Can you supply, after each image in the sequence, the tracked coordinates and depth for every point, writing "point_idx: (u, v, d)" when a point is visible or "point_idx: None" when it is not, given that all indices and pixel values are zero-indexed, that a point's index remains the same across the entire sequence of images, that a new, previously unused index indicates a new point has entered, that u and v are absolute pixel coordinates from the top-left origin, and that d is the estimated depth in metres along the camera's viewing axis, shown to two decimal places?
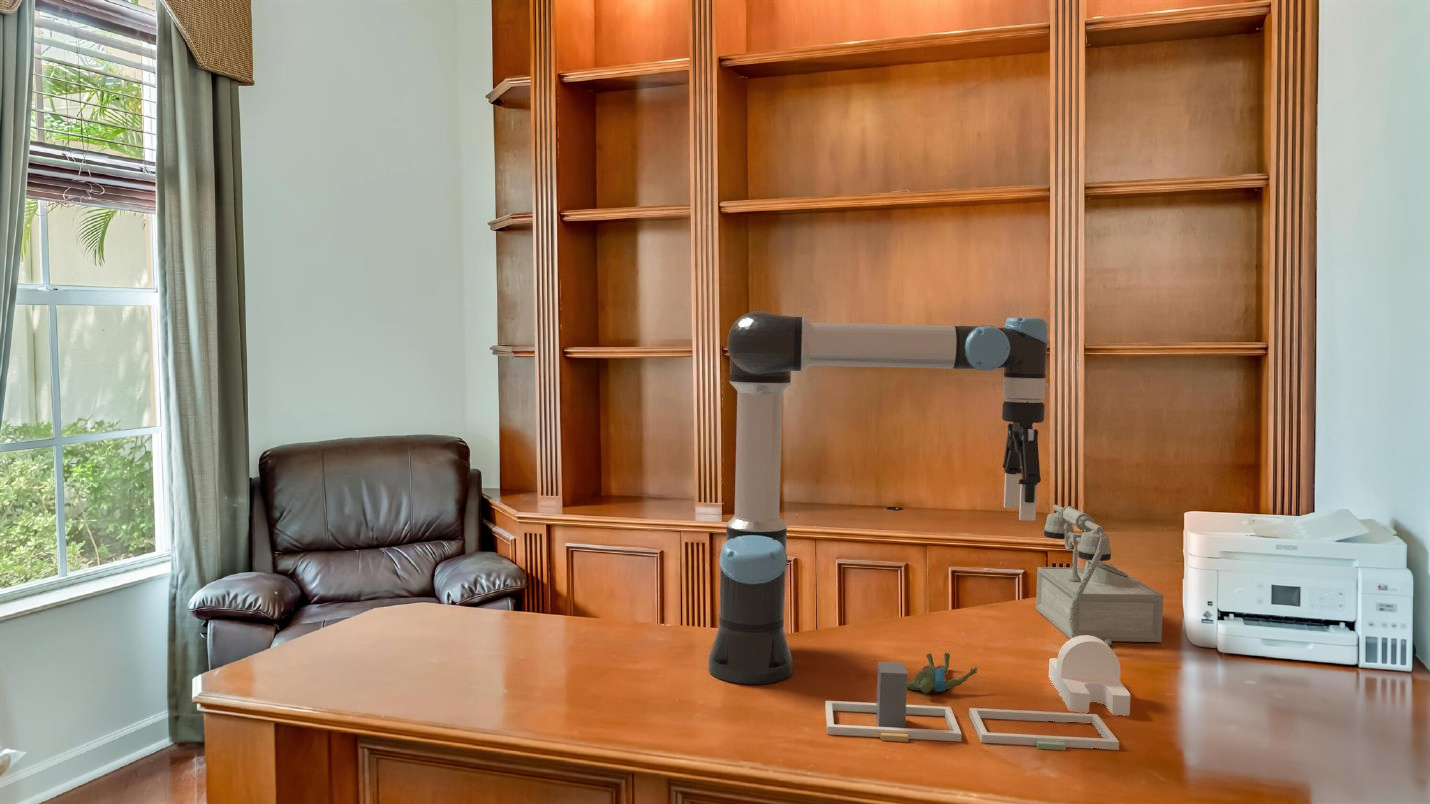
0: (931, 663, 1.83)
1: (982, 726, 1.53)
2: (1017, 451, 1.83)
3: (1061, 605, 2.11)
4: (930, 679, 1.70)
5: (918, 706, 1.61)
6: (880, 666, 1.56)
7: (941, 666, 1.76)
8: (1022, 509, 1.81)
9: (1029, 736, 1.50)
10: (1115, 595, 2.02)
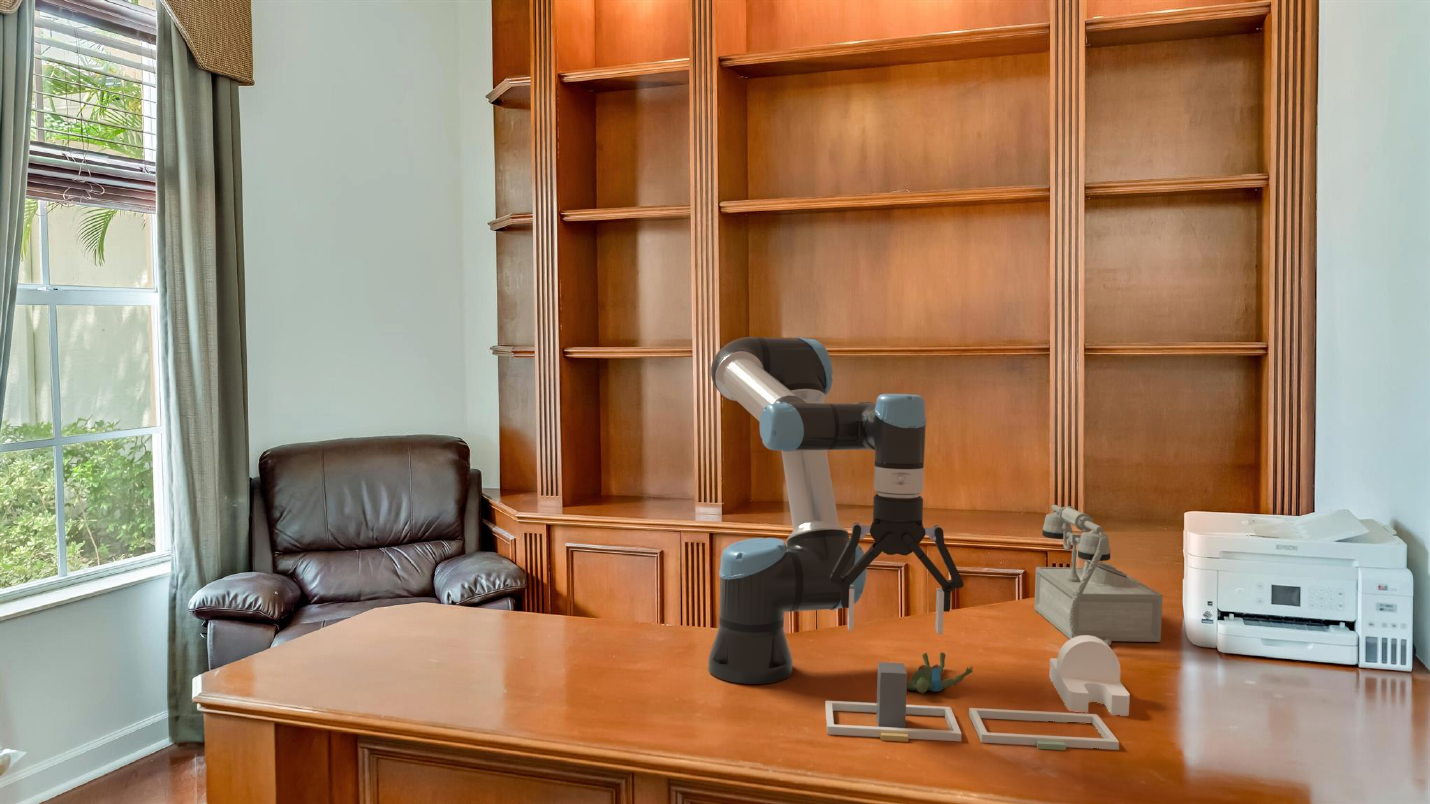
0: (927, 663, 1.84)
1: (982, 726, 1.53)
2: None
3: (1060, 605, 2.11)
4: (926, 679, 1.70)
5: (918, 706, 1.61)
6: (880, 666, 1.56)
7: (937, 666, 1.77)
8: None
9: (1029, 736, 1.50)
10: (1114, 595, 2.02)
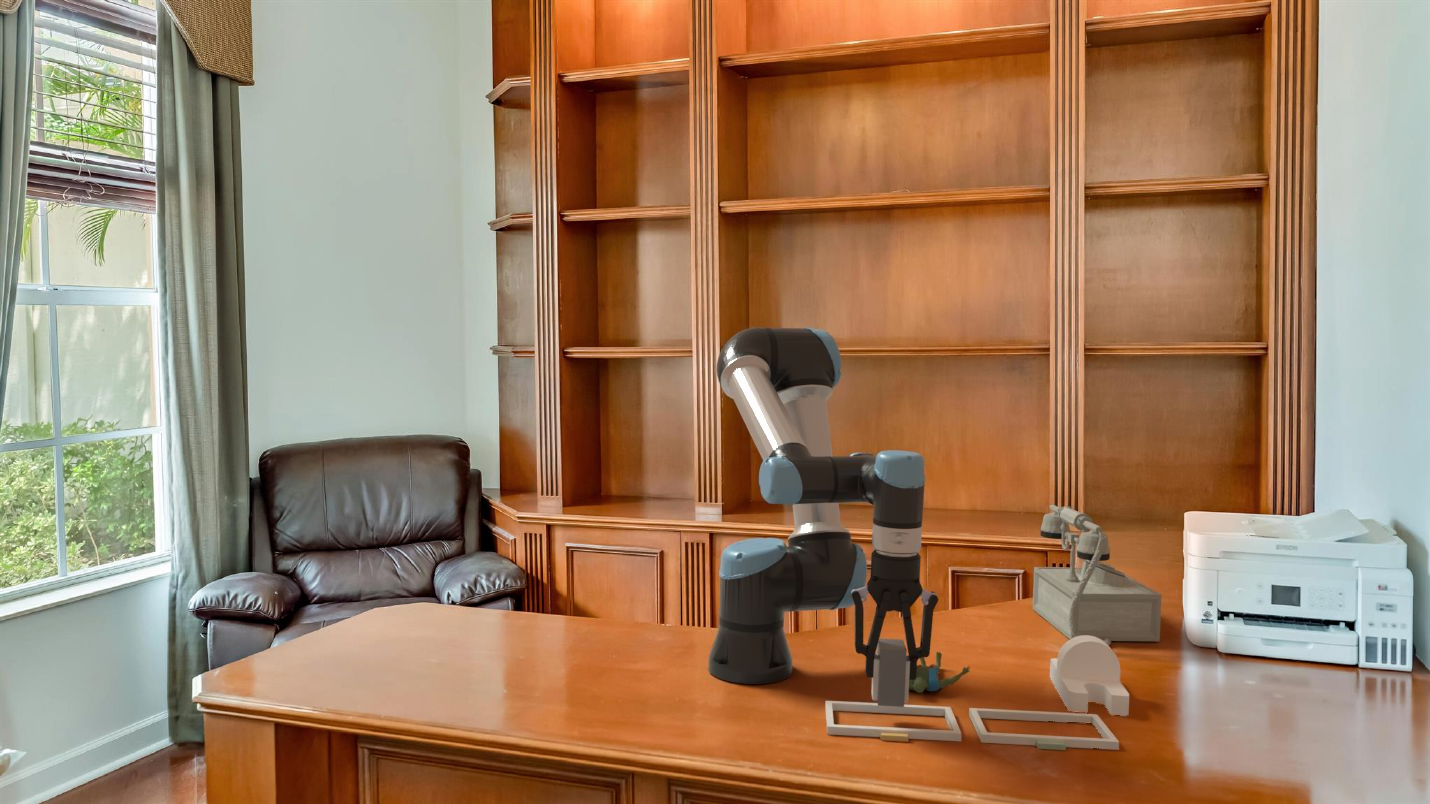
0: (923, 662, 1.84)
1: (982, 726, 1.53)
2: None
3: (1059, 605, 2.11)
4: (923, 678, 1.70)
5: (918, 706, 1.61)
6: (880, 642, 1.57)
7: (933, 665, 1.77)
8: None
9: (1029, 736, 1.50)
10: (1114, 595, 2.02)
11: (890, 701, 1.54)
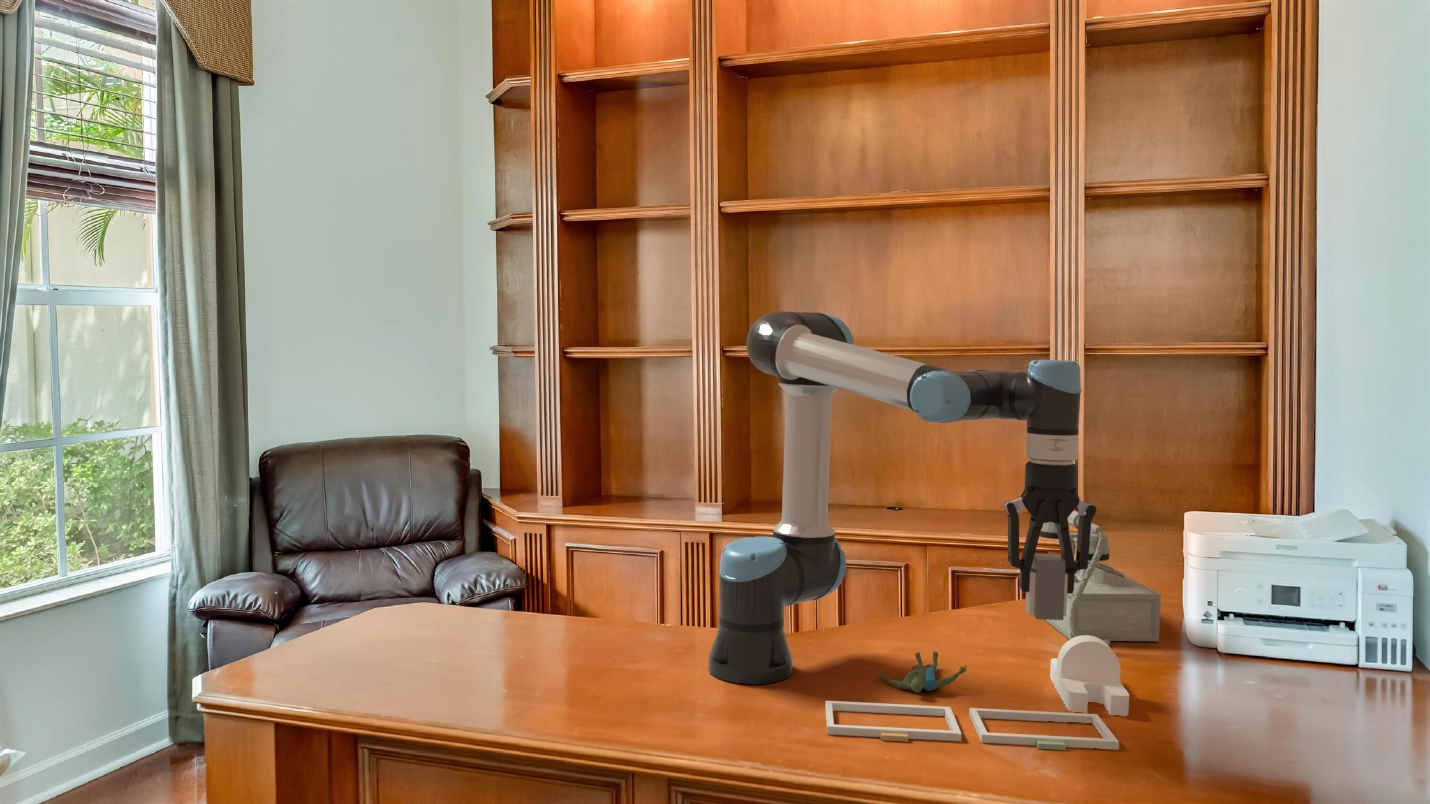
0: (920, 662, 1.84)
1: (982, 726, 1.53)
2: None
3: None
4: (921, 678, 1.70)
5: (918, 706, 1.61)
6: (1035, 556, 1.53)
7: (930, 665, 1.77)
8: (1026, 598, 1.54)
9: (1029, 736, 1.50)
10: (1113, 595, 2.02)
11: (1049, 614, 1.51)
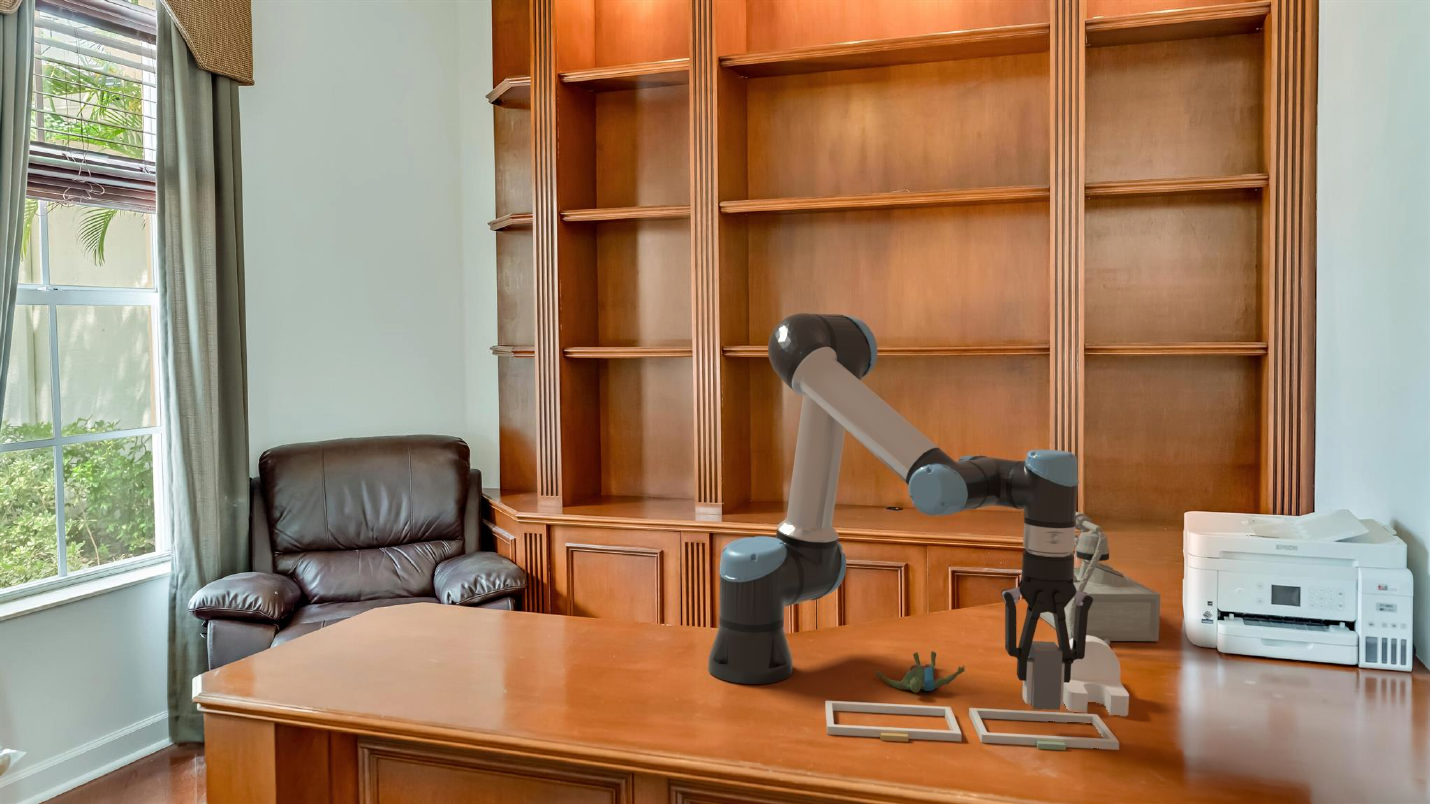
0: (918, 662, 1.84)
1: (982, 726, 1.53)
2: None
3: None
4: (919, 678, 1.70)
5: (918, 706, 1.61)
6: (1032, 644, 1.54)
7: (929, 665, 1.77)
8: (1023, 686, 1.55)
9: (1029, 736, 1.50)
10: (1113, 595, 2.02)
11: (1046, 704, 1.52)
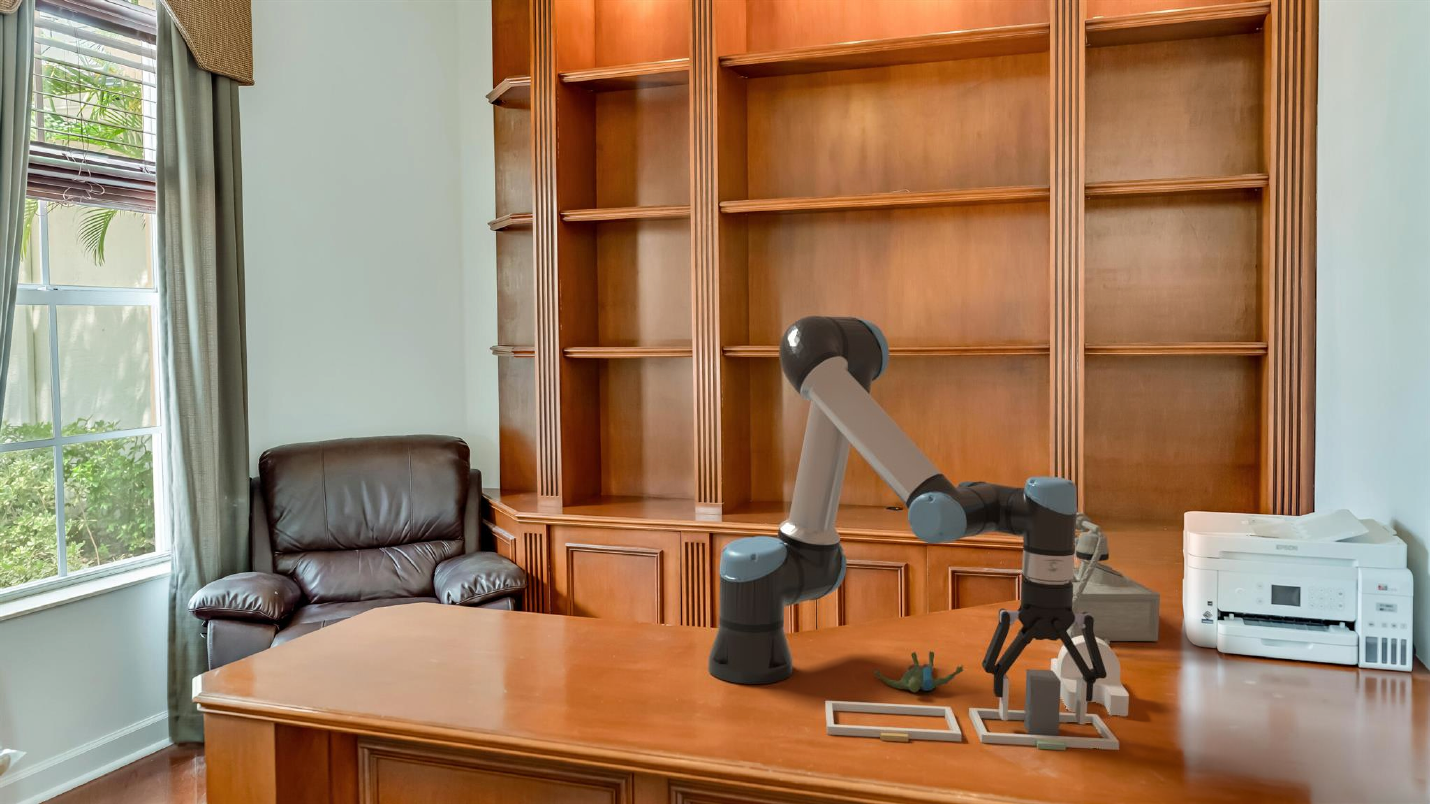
0: (916, 662, 1.84)
1: (982, 726, 1.53)
2: None
3: None
4: (918, 678, 1.70)
5: (918, 706, 1.61)
6: (1030, 673, 1.54)
7: (927, 665, 1.77)
8: (999, 702, 1.56)
9: (1029, 736, 1.50)
10: (1113, 595, 2.02)
11: (1044, 733, 1.52)
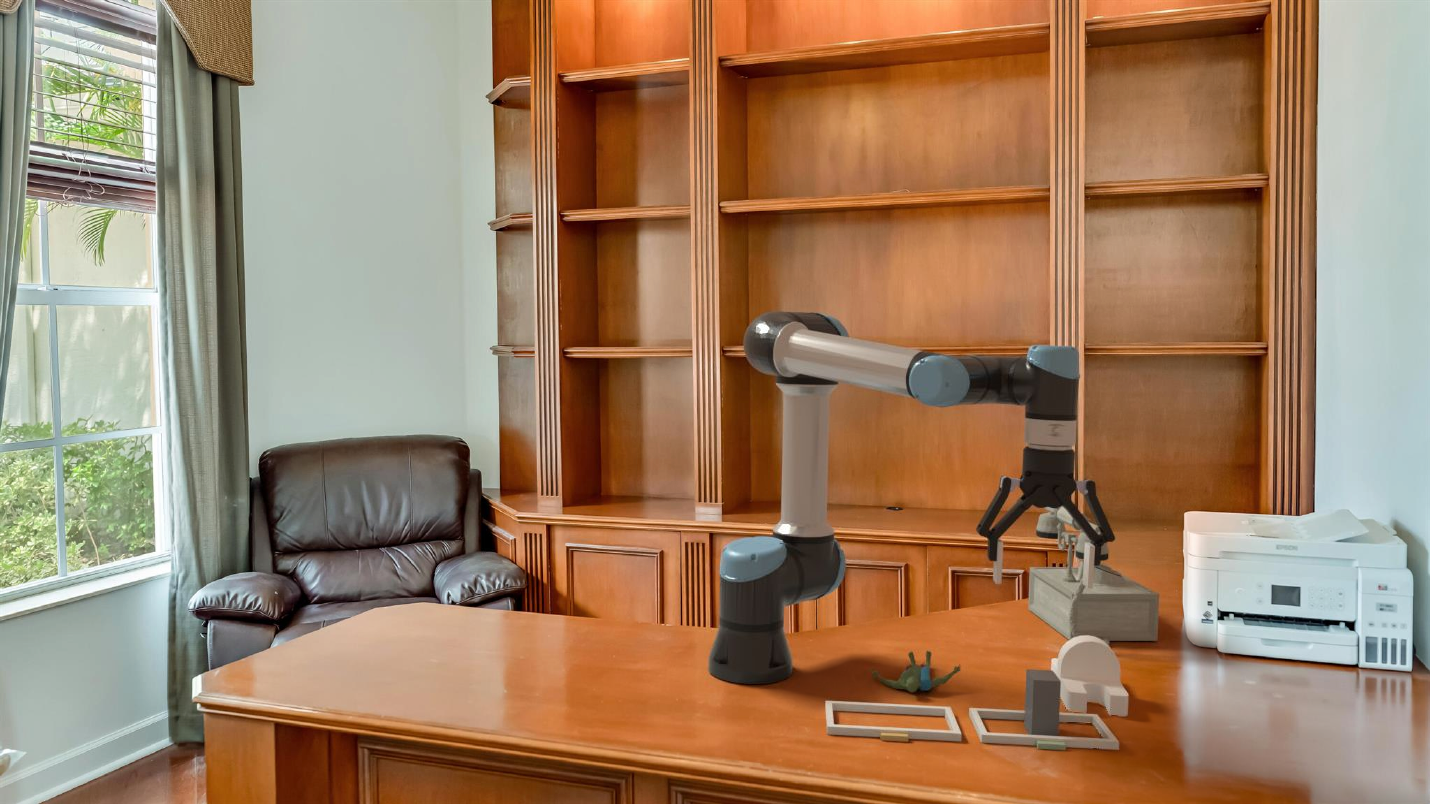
0: (913, 661, 1.84)
1: (982, 726, 1.53)
2: None
3: (1057, 605, 2.10)
4: (915, 678, 1.71)
5: (918, 706, 1.61)
6: (1030, 673, 1.54)
7: (924, 664, 1.77)
8: (993, 567, 1.55)
9: (1029, 736, 1.50)
10: (1112, 595, 2.02)
11: (1044, 733, 1.52)
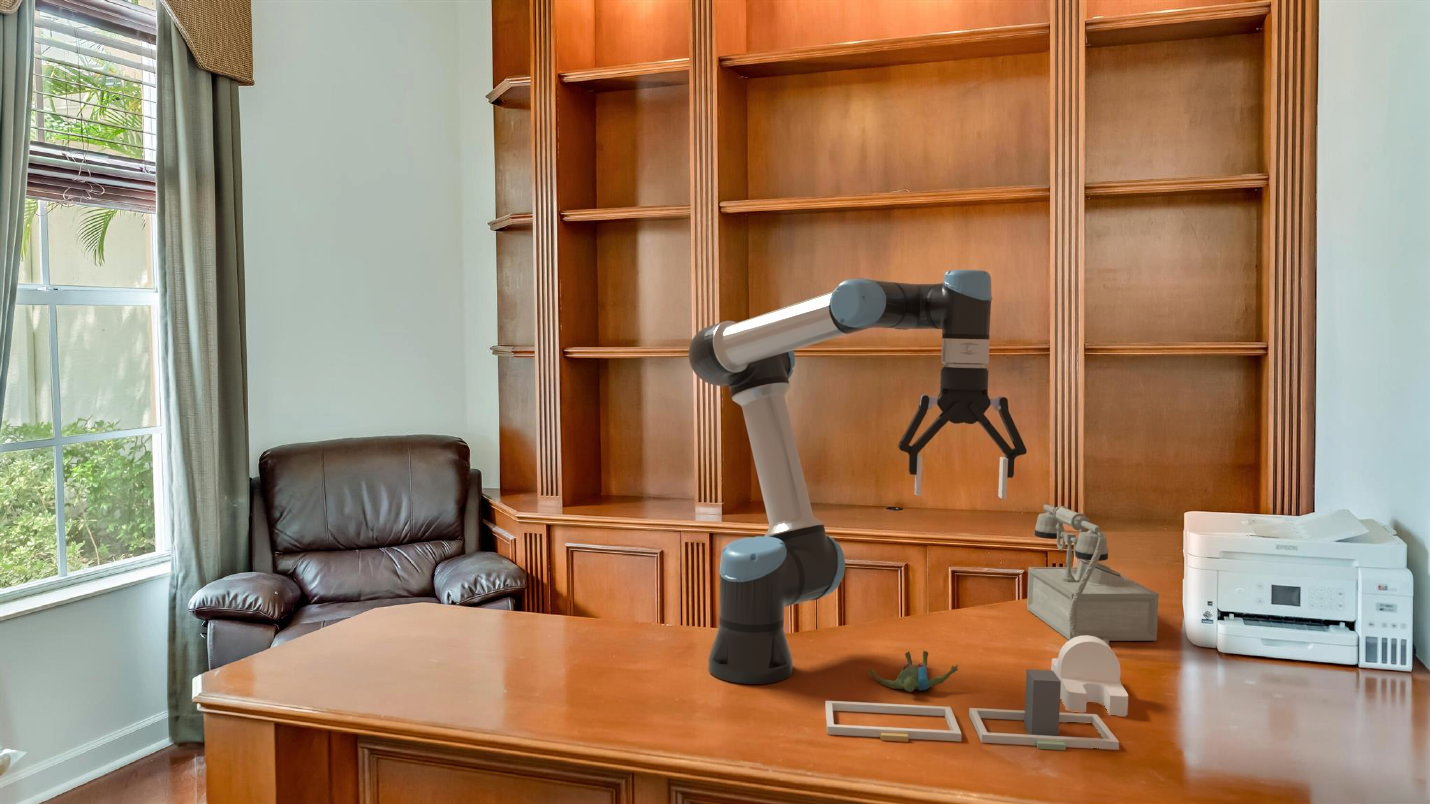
0: (910, 661, 1.84)
1: (982, 726, 1.53)
2: None
3: (1056, 605, 2.10)
4: (913, 678, 1.71)
5: (918, 706, 1.61)
6: (1030, 673, 1.54)
7: (922, 664, 1.77)
8: (915, 482, 1.65)
9: (1029, 736, 1.50)
10: (1112, 594, 2.02)
11: (1044, 733, 1.52)
